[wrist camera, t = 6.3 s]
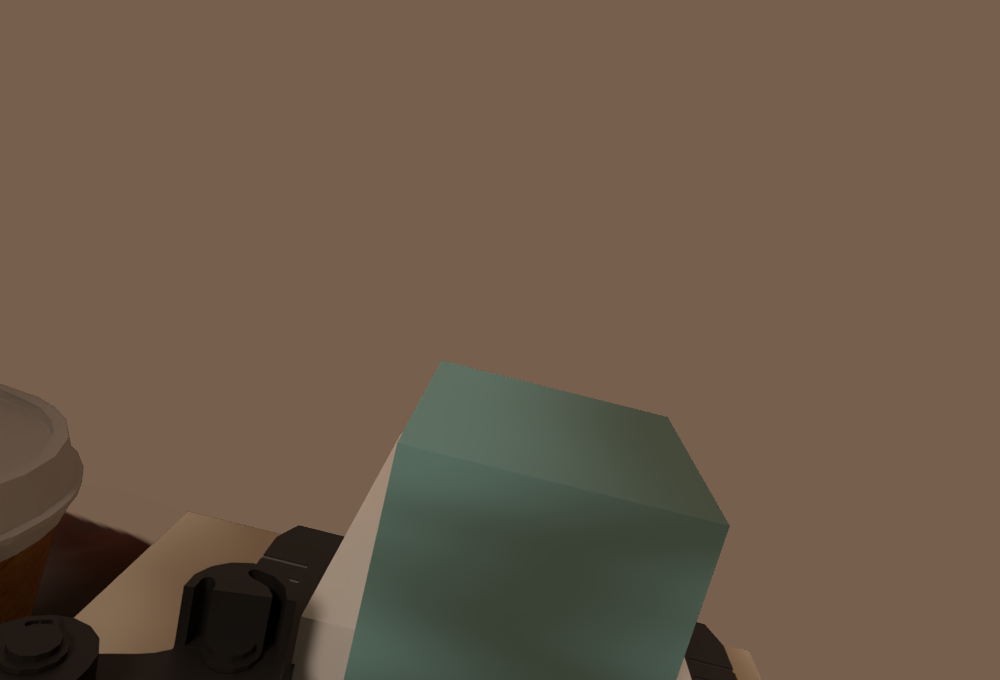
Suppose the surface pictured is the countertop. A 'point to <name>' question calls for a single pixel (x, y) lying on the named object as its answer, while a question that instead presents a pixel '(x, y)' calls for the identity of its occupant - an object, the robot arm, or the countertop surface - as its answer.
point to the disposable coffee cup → (31, 493)
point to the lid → (493, 546)
